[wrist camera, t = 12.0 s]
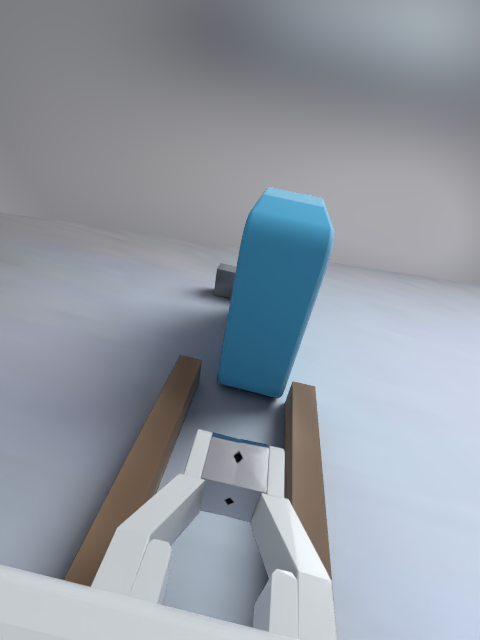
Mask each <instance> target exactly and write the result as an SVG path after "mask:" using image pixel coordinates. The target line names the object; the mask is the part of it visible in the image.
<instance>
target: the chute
mask: <svg viewBox="0 0 480 640" xmlns="http://www.w3.org/2000/svg"><path fill="white" fill-rule="evenodd" d="M236 268H237V267H236V266H231V265H226V264H222V263H220V265H219V267H218V268H217V274H216V281H215V288H214V295H218V296H222V297H227V298H231V296H232V290H233V285H234V279H235V273H236ZM201 362H202V360H199V359H194V358H190V357H186V356H182V355H180V356H179V358H178V360H177V362H176V364H175V366H174V368H173V370H172V372H171V374H170V376H169V377H168V379H167V381H166V383H165V385H164V387H163V389H162V391H161V393H160V395H159V397H158V399H157V401H156V403H155V404H154V406H153V408H152V410H151V412H150V414H149V416H148V418H147V420H146V422H145V424H144V426H143V428H142V430H141V432H140V433H139V435H138V437H137V439H136V441H135V443H134V445H133V447H132V449H131V451H130V453H129V455H128V457H127V459H126V460H125V462H124V464H123V466H122V468H121V470H120V472H119V474H118V476H117V478H116V480H115V482H114V484H113V486H112V488H111V489H110V491H109V493H108V495H107V497H106V499H105V501H104V503H103V505H102V507H101V509H100V511H99V513H98V515H97V516H96V518H95V520H94V522H93V524H92V526H91V528H90V530H89V532H88V534H87V536H86V538H85V540H84V542H83V543H82V545H81V547H80V549H79V551H78V553H77V555H76V557H75V559H74V561H73V563H72V565H71V567H70V569H69V571H68V572H67V574H66V576H65V578H64V580H65V581H69V582H73V583H77V584H81V585H85V586H89V587H91V585H92V583H93V581H94V579H95V576H96V574H97V572H98V570H99V567H100V565H101V563H102V561H103V558H104V556H105V554H106V552H107V549H108V547H109V545H110V543H111V541H112V538H113V536H114V534H115V532H116V529H117V528H118V527H119V526H120V525H121V524H122V523H123V522H124V521H126V520H127V519H128V518H129V517H130V516H131V515H132V514H133V513H135V512H136V511H137V510H138V509H139V508H140V507H141V506H143V505H144V504H145V503H146V502H147V501H148V500H149V499H150V498H152V497H153V496H154V495H155V494H156V492H157V489H158V487H159V484H160V481H161V479H162V476H163V474H164V471H165V469H166V466H167V463H168V461H169V458H170V456H171V453H172V450H173V448H174V445H175V443H176V440H177V437H178V435H179V432H180V430H181V427H182V424H183V422H184V419H185V417H186V414H187V411H188V409H189V406H190V404H191V401H192V398H193V396H194V393H195V391H196V388H197V385H198V383H199V377H200V370H201ZM284 452H285V467H284V498H286V499H289V501H290V503H291V505H292V507H293V509H294V511H295V512H296V514H297V516H298V518H299V520H300V522H301V524H302V526H303V528H304V530H305V531H306V533H307V535H308V537H309V539H310V541H311V543H312V545H313V547H314V549H315V550H316V552H317V554H318V556H319V558H320V560H321V562H322V564H323V566H324V568H325V569H326V571H327V573H328V575H329V577H330V579H331V581H332V576H331V565H330V553H329V542H328V530H327V519H326V507H325V496H324V484H323V473H322V461H321V450H320V438H319V427H318V415H317V404H316V392H315V386H310V385H306V384H302V383H297V382H292V385H291V387H290V390H289V393H288V396H287V399H286V401H285V426H284ZM332 592H333V588H332ZM333 602H334V599H333ZM334 613H335V611H334ZM335 624H336V622H335ZM336 635H337V634H336Z"/></svg>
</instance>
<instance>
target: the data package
mask: <svg viewBox="0 0 480 640" xmlns="http://www.w3.org/2000/svg"><path fill="white" fill-rule="evenodd" d="M333 242H334V229H333V226H332V223H331V220H330V218H329V215H328V212H327V209H326V206H325V204H324V201H323V199H322V198H319V197H314V196H309V195H304V194H299V193H295V192H290V191H286V190H281V189H276V188H272V187H268V188H267V189H266V190H265V191H264V193H263V194H262V196H261V197H260V199H259V200H258V201H257V203H256V204H255V206H254V207H253V209H252V210H251V212H250V213H249V215H248V218H247V220H246V224H245V227H244V232H243V236H242V240H241V245H240V251H239V256H238V262H237V268H236V273H235V279H234V285H233V290H232V296H231V302H230V308H229V313H228V319H227V325H226V330H225V336H224V342H223V347H222V353H221V359H220V364H219V370H218V376H217V380H218V382H219V383H220V384H223V385H227V386H231V387H235V388H239V389H243V390H247V391H251V392H255V393H259V394H262V395H266V396H270V397H274V398H280V397H281V396H282V394H283V392H284V390H285V387H286V384H287V381H288V378H289V375H290V373H291V370H292V367H293V364H294V361H295V358H296V355H297V352H298V349H299V347H300V344H301V341H302V338H303V335H304V332H305V329H306V326H307V324H308V321H309V318H310V315H311V312H312V309H313V306H314V303H315V301H316V298H317V295H318V292H319V289H320V286H321V283H322V280H323V278H324V275H325V272H326V269H327V266H328V263H329V259H330V256H331V252H332V247H333Z"/></svg>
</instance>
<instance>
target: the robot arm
mask: <svg viewBox="0 0 480 640" xmlns="http://www.w3.org/2000/svg"><path fill="white" fill-rule="evenodd" d="M284 467H285V452H284V449H283V448H278V447H273V446H269V445H266V444H262V443H257V442H252V441H248V440H243V439H241V440H240V439H236V438H232V437H228V436H224V435H220V434H217V433H213V432H209V431H204V430H200V429H198V431H197V433H196V436H195V439H194V442H193V445H192V449H191V452H190V455H189V458H188V461H187V464H186V468H185V471H184V474H180V473H179V474H178V475H177V476H175V477H174V478H173V479H172V480H171V481H170V482H169V483H168V484H166V485H165V486H164V487H163V488H162V489H161V490H160V491H158V492H157V493H156V494H155V495H154V496H153V497H152V498H150V499H149V500H148V501H147V502H146V503H145V504H144V505H143V506H141V507H140V508H139V509H138V510H137V511H136V512H135V513H133V514H132V515H131V516H130V517H129V518H128V519H127V520H126V521H124V522H123V523H122V524H121V525H120V526H119V527H118V528H117V529H116V532H115V534H114V536H113V538H112V541H111V543H110V545H109V547H108V549H107V552H106V554H105V556H104V558H103V561H102V563H101V565H100V567H99V570H98V572H97V574H96V576H95V579H94V581H93V583H92V585H91V587H89V586H85V585H81V584H77V583H73V582H69V581H65V580H61V579H57V578H53V577H49V576H45V575H41V574H37V573H33V572H29V571H25V570H21V569H17V568H13V567H9V566H5V565H1V564H0V640H337V635H336V624H335V613H334V602H333V592H332V581H331V579H330V577H329V575H328V573H327V571H326V569H325V568H324V566H323V564H322V562H321V560H320V558H319V556H318V554H317V552H316V550H315V549H314V547H313V545H312V543H311V541H310V539H309V537H308V535H307V533H306V531H305V530H304V528H303V526H302V524H301V522H300V520H299V518H298V516H297V514H296V512H295V511H294V509H293V507H292V505H291V503H290V501H289V499H286V498H284ZM199 511H205V512H210V513H214V514H219V515H224V516H228V517H232V518H235V519H239V520H243V521H246V522H250V525H251V528H252V531H253V534H254V537H255V540H256V543H257V546H258V549H259V552H260V554H261V557H262V560H263V563H264V566H265V569H266V572H267V575H268V578H269V580H268V582H267V583H266V585H265V587H264V589H263V590H262V592H261V594H260V596H259V597H258V599H257V601H256V603H255V605H254V617H253V628H252V627H248V626H244V625H240V624H236V623H232V622H228V621H224V620H220V619H216V618H212V617H208V616H204V615H200V614H196V613H192V612H188V611H184V610H180V609H176V608H172V607H168V606H164V605H163V602H164V598H165V594H166V590H167V586H168V582H169V572H170V563H171V554H172V548H171V545H172V544H173V542H174V541H175V540H176V539H177V538H178V537H179V535H180V534H181V533H182V532H183V531H184V530H185V528H186V527H187V526H188V525H189V524H190V523H191V521H192V520H193V519H194V518H195V517H196V516H197V514H198V513H199Z"/></svg>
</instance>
